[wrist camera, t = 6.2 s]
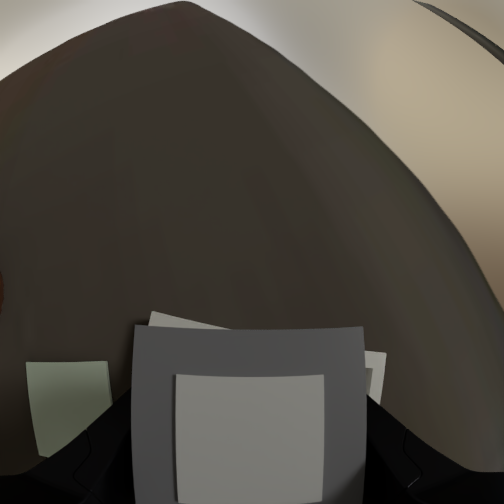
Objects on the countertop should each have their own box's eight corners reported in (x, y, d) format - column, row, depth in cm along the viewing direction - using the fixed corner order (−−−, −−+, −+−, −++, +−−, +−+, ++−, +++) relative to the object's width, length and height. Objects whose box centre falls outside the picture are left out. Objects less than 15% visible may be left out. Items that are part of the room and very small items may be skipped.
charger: (293, 449, 12) (361, 525, 4) (193, 449, 12) (137, 528, 4) (293, 357, 14) (364, 325, 6) (194, 356, 14) (133, 323, 6)
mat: (125, 465, 17) (123, 466, 17) (41, 454, 16) (39, 455, 16) (107, 361, 21) (105, 361, 20) (28, 362, 20) (25, 362, 19)
